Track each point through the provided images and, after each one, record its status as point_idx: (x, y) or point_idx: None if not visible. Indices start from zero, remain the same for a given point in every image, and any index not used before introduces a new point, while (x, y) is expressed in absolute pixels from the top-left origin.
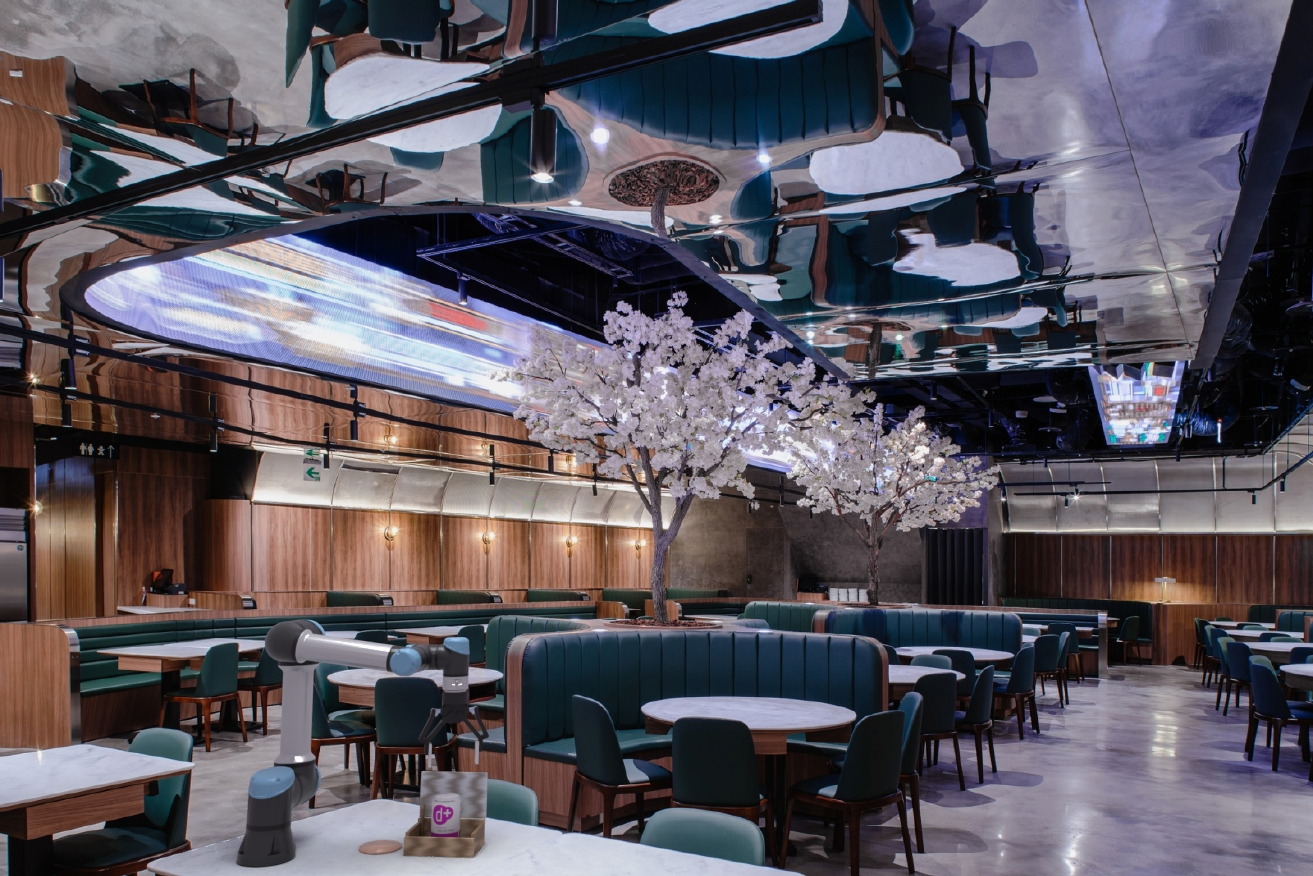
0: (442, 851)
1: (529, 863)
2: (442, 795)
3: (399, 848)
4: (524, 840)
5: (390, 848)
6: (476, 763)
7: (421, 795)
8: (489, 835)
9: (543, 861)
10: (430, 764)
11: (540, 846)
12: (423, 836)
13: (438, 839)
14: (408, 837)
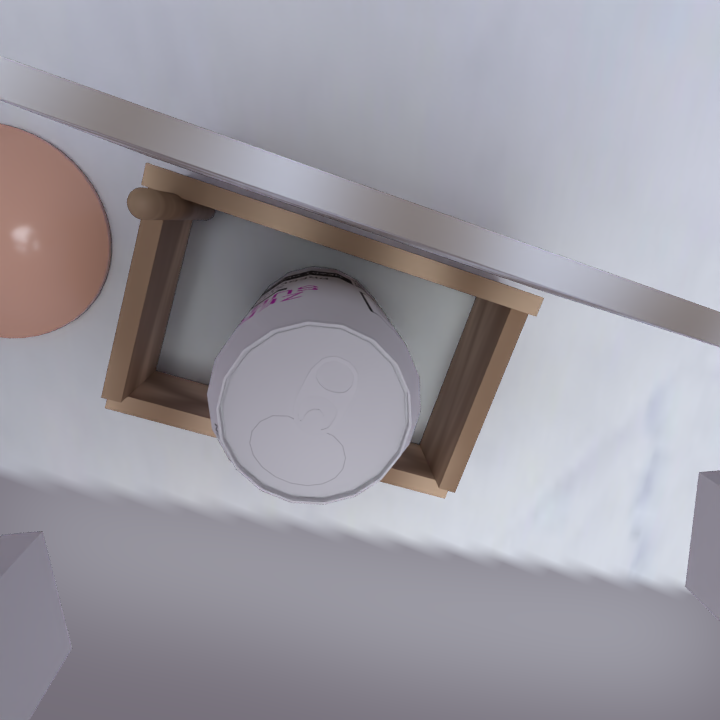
0: None
1: (617, 556)
2: (280, 388)
3: (103, 281)
4: (679, 264)
5: (58, 291)
6: (703, 593)
7: (97, 136)
8: (543, 135)
9: (669, 545)
10: (39, 686)
11: (715, 367)
12: (206, 215)
13: None
14: (128, 413)
